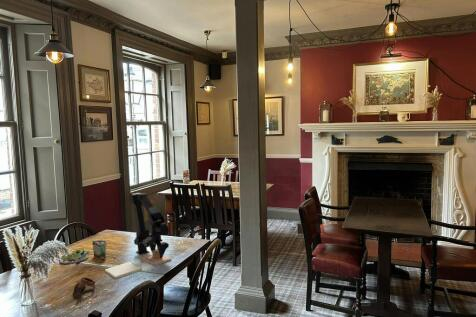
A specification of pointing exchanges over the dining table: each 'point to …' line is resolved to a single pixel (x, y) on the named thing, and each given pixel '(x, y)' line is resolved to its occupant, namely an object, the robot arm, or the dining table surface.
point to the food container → (99, 249)
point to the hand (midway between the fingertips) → (157, 256)
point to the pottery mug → (83, 286)
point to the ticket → (123, 269)
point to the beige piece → (156, 258)
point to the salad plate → (75, 256)
